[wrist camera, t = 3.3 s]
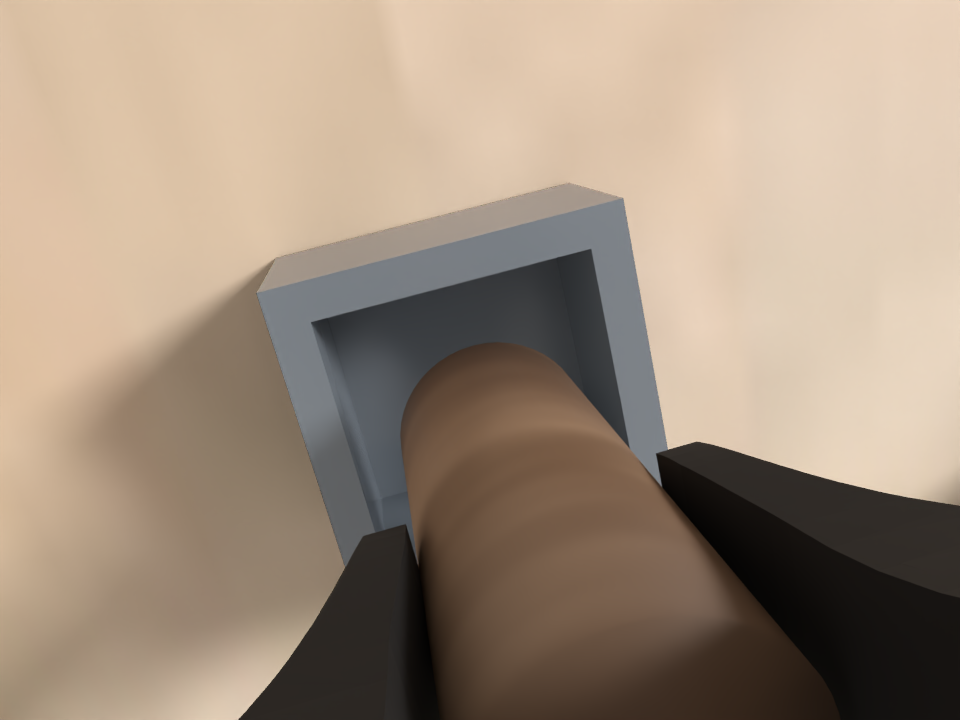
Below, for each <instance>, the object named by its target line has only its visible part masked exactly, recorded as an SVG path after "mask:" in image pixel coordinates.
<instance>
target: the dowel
mask: <svg viewBox="0 0 960 720" xmlns="http://www.w3.org/2000/svg"><path fill="white" fill-rule="evenodd" d="M400 439H401V450H402V457H403V464H404V471H405V478H406V485H407V492H408V499H409V506H410V513H411V520H412V527H413V534H414V541H415V548H416V555H417V562H418V567H419V573H420V580H421V587H422V594H423V601H424V608H425V617H426V625H427V632H428V639H429V646H430V653H431V660H432V667H433V674H434V681H435V688H436V695H437V702H438V709H439V716H440V720H841V719H840V714H839V711H838V709H837V706H836V703H835V701H834V698H833V696H832V693H831V692H830V690H829V688H828V687H827V685H826V683H825V682H824V680H823V678H822V677H821V675H820V674H819V673H818V672H817V671H816V669H815V668H814V667H813V666H812V665H811V663H810V662H809V661H808V660H807V659H806V657H805V656H804V655H803V654H802V653H801V652H800V650H799V649H798V648H797V647H796V646H795V644H794V643H793V642H792V641H791V640H790V638H789V637H788V636H787V635H786V634H785V633H784V631H783V630H782V629H781V628H780V627H779V625H778V624H777V623H776V622H775V621H774V619H773V618H772V617H771V616H770V615H769V614H768V612H767V611H766V610H765V609H764V608H763V606H762V605H761V604H760V603H759V602H758V600H757V599H756V598H755V597H754V596H753V595H752V593H751V592H750V591H749V590H748V589H747V587H746V586H745V585H744V584H743V583H742V581H741V580H740V579H739V578H738V577H737V576H736V574H735V573H734V572H733V571H732V570H731V568H730V567H729V566H728V565H727V564H726V562H725V561H724V560H723V559H722V558H721V557H720V555H719V554H718V553H717V552H716V551H715V549H714V548H713V547H712V546H711V545H710V543H709V542H708V541H707V540H706V539H705V538H704V536H703V535H702V534H701V533H700V532H699V530H698V529H697V528H696V527H695V526H694V524H693V523H692V522H691V521H690V520H689V519H688V517H687V516H686V515H685V514H684V513H683V511H682V510H681V509H680V508H679V507H678V505H677V504H676V503H675V502H674V501H673V500H672V498H671V497H670V496H669V495H668V494H667V492H666V491H665V490H664V489H663V488H662V486H661V485H660V484H659V483H658V482H657V481H656V479H655V478H654V477H653V476H652V475H651V473H650V472H649V471H648V470H647V469H646V467H645V466H644V465H643V464H642V463H641V461H640V460H639V459H638V458H637V457H636V456H635V454H634V453H633V452H632V451H631V450H630V448H629V447H628V446H627V445H626V444H625V442H624V441H623V440H622V439H621V438H620V437H619V435H618V434H617V433H616V432H615V431H614V429H613V428H612V427H611V426H610V425H609V423H608V422H607V421H606V420H605V419H604V418H603V416H602V415H601V414H600V413H599V412H598V410H597V409H596V408H595V407H594V406H593V404H592V403H591V402H590V401H589V400H588V399H587V397H586V396H585V395H584V394H583V393H582V391H581V390H580V389H579V388H578V387H577V385H576V384H575V383H574V382H573V381H572V380H571V378H570V377H569V376H568V375H567V374H566V372H565V371H564V370H563V369H562V368H561V367H560V366H559V365H558V364H557V363H556V362H554V361H553V360H552V359H550V358H549V357H547V356H546V355H544V354H542V353H540V352H538V351H536V350H534V349H532V348H529V347H526V346H523V345H518V344H513V343H501V342H494V343H483V344H478V345H473V346H470V347H467V348H464V349H461V350H459V351H457V352H455V353H453V354H451V355H449V356H447V357H446V358H444V359H443V360H441V361H439V362H438V363H437V364H436V365H434V366H433V367H432V368H431V369H430V370H429V371H428V372H427V373H426V374H425V375H424V376H423V377H422V378H421V379H420V381H419V382H418V384H417V385H416V387H415V388H414V389H413V391H412V393H411V395H410V397H409V399H408V401H407V404H406V406H405V409H404V412H403V417H402V422H401V432H400Z"/></svg>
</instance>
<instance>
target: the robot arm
mask: <svg viewBox="0 0 960 720" xmlns="http://www.w3.org/2000/svg"><path fill="white" fill-rule="evenodd" d="M656 457H657V462H658V468H659V473H660V479H661V484H662V488H663V489H664V490H665V491H666V492H667V494H668V495H669V496H670V497H671V498H672V500H673V501H674V502H675V503H676V504H677V505H678V507H679V508H680V509H681V510H682V511H683V513H684V514H685V515H686V516H687V517H688V519H689V520H690V521H691V522H692V523H693V524H694V526H695V527H696V528H697V529H698V530H699V532H700V533H701V534H702V535H703V536H704V538H705V539H706V540H707V541H708V542H709V543H710V545H711V546H712V547H713V548H714V549H715V551H716V552H717V553H718V554H719V555H720V557H721V558H722V559H723V560H724V561H725V562H726V564H727V565H728V566H729V567H730V568H731V570H732V571H733V572H734V573H735V574H736V576H737V577H738V578H739V579H740V580H741V581H742V583H743V584H744V585H745V586H746V587H747V589H748V590H749V591H750V592H751V593H752V595H753V596H754V597H755V598H756V599H757V600H758V602H759V603H760V604H761V605H762V606H763V608H764V609H765V610H766V611H767V612H768V614H769V615H770V616H771V617H772V618H773V619H774V621H775V622H776V623H777V624H778V625H779V627H780V628H781V629H782V630H783V631H784V633H785V634H786V635H787V636H788V637H789V638H790V640H791V641H792V642H793V643H794V644H795V646H796V647H797V648H798V649H799V650H800V652H801V653H802V654H803V655H804V656H805V657H806V659H807V660H808V661H809V662H810V663H811V665H812V666H813V667H814V668H815V669H816V671H817V672H818V673H819V674H820V675H821V677H822V678H823V680H824V682H825V683H826V685H827V687H828V688H829V690H830V692H831V693H832V696H833V698H834V701H835V703H836V706H837V709H838V711H839V714H840V719H841V720H960V506H957V505H951V504H945V503H938V502H932V501H926V500H920V499H913V498H907V497H902V496H897V495H892V494H887V493H882V492H878V491H874V490H870V489H865V488H861V487H857V486H853V485H849V484H844V483H840V482H836V481H833V480H829V479H825V478H822V477H818V476H814V475H811V474H807V473H804V472H800V471H797V470H794V469H790V468H787V467H784V466H780V465H777V464H774V463H771V462H767V461H764V460H761V459H758V458H755V457H751V456H748V455H745V454H742V453H739V452H735V451H732V450H729V449H725V448H722V447H718V446H715V445H711V444H707V443H701V442H694V443H691V444H687V445H683V446H680V447H676V448H673V449H669V450H666V451H662V452H659V453H656ZM239 720H440V716H439V709H438V702H437V695H436V688H435V681H434V674H433V667H432V660H431V653H430V646H429V639H428V632H427V625H426V617H425V608H424V601H423V594H422V587H421V580H420V573H419V567H418V564H417V560H416V557H415V553H414V550H413V547H412V543H411V540H410V536H409V533H408V530H407V526H406V524H404V525H400V526H396V527H393V528H389V529H386V530H382V531H379V532H375V533H372V534H368V535H365V536H363V537H362V539H361V540H360V542H359V544H358V545H357V547H356V549H355V550H354V552H353V554H352V556H351V558H350V560H349V562H348V564H347V565H346V567H345V569H344V571H343V573H342V575H341V577H340V578H339V580H338V582H337V584H336V586H335V588H334V589H333V591H332V593H331V594H330V596H329V598H328V600H327V601H326V603H325V605H324V606H323V608H322V610H321V611H320V613H319V615H318V616H317V618H316V620H315V621H314V623H313V625H312V626H311V628H310V629H309V630H308V632H307V633H306V635H305V636H304V638H303V639H302V641H301V642H300V644H299V645H298V647H297V648H296V650H295V651H294V653H293V654H292V655H291V657H290V658H289V660H288V661H287V662H286V664H285V665H284V666H283V668H282V669H281V670H280V672H279V673H278V674H277V675H276V677H275V678H274V679H273V680H272V682H271V683H270V684H269V685H268V686H267V688H266V689H265V690H264V691H263V692H262V693H261V695H260V696H259V697H258V698H257V699H256V700H255V702H254V703H253V704H252V705H251V706H250V707H249V708H248V710H247V711H246V712H245V713H244V714H243V715H242V716H241V717H240V718H239Z"/></svg>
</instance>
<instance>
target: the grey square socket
mask: <svg viewBox="0 0 960 720" xmlns="http://www.w3.org/2000/svg"><path fill="white" fill-rule="evenodd" d="M256 294H257V297H258V300H259V303H260V306H261V309H262V312H263V315H264V318H265V321H266V324H267V327H268V331H269V334H270V337H271V340H272V343H273V346H274V349H275V352H276V355H277V358H278V361H279V364H280V368H281V371H282V374H283V377H284V380H285V383H286V386H287V389H288V392H289V395H290V398H291V401H292V405H293V408H294V411H295V414H296V417H297V420H298V423H299V426H300V429H301V432H302V435H303V438H304V441H305V445H306V448H307V451H308V454H309V457H310V460H311V463H312V466H313V469H314V472H315V475H316V478H317V482H318V485H319V488H320V491H321V494H322V497H323V500H324V503H325V506H326V509H327V512H328V515H329V519H330V522H331V525H332V528H333V531H334V534H335V537H336V540H337V543H338V546H339V549H340V552H341V555H342V559H343V562H344V565H345V567H346V565H347V564H348V562H349V560H350V558H351V556H352V554H353V552H354V550H355V549H356V547H357V545H358V544H359V542H360V540H361V539H362V537H363V536H365V535H368V534H372V533H375V532H379V531H382V530H386V529H389V528H393V527H396V526H400V525H404V524H406V526H407V530H408V533H409V536H410V540H411V543H412V547H413V550H414V553H415V557H416V560H417V555H416V548H415V541H414V534H413V527H412V520H411V513H410V506H409V499H408V492H407V485H406V478H405V471H404V464H403V457H402V450H401V439H400V432H401V422H402V417H403V412H404V409H405V406H406V404H407V401H408V399H409V397H410V395H411V393H412V391H413V389H414V388H415V387H416V385H417V384H418V382H419V381H420V379H421V378H422V377H423V376H424V375H425V374H426V373H427V372H428V371H429V370H430V369H431V368H432V367H433V366H434V365H436V364H437V363H438V362H439V361H441V360H443V359H444V358H446V357H447V356H449V355H451V354H453V353H455V352H457V351H459V350H461V349H464V348H467V347H470V346H473V345H478V344H483V343H494V342H501V343H513V344H518V345H523V346H526V347H529V348H532V349H534V350H536V351H538V352H540V353H542V354H544V355H546V356H547V357H549V358H550V359H552V360H553V361H554V362H556V363H557V364H558V365H559V366H560V367H561V368H562V369H563V370H564V371H565V372H566V374H567V375H568V376H569V377H570V378H571V380H572V381H573V382H574V383H575V384H576V385H577V387H578V388H579V389H580V390H581V391H582V393H583V394H584V395H585V396H586V397H587V399H588V400H589V401H590V402H591V403H592V404H593V406H594V407H595V408H596V409H597V410H598V412H599V413H600V414H601V415H602V416H603V418H604V419H605V420H606V421H607V422H608V423H609V425H610V426H611V427H612V428H613V429H614V431H615V432H616V433H617V434H618V435H619V437H620V438H621V439H622V440H623V441H624V442H625V444H626V445H627V446H628V447H629V448H630V450H631V451H632V452H633V453H634V454H635V456H636V457H637V458H638V459H639V460H640V461H641V463H642V464H643V465H644V466H645V467H646V469H647V470H648V471H649V472H650V473H651V475H652V476H653V477H654V478H655V479H656V481H657V482H658V483H659V484H660V485H661V486H662V484H661V479H660V473H659V468H658V462H657V457H656V453H659V452H662V451H666V450H668V448H667V442H666V436H665V431H664V425H663V420H662V414H661V408H660V403H659V397H658V392H657V386H656V380H655V375H654V369H653V363H652V358H651V352H650V347H649V341H648V335H647V330H646V324H645V318H644V313H643V307H642V302H641V296H640V290H639V285H638V279H637V274H636V268H635V262H634V257H633V251H632V245H631V240H630V234H629V229H628V223H627V217H626V212H625V206H624V200H623V198H621V197H617V196H614V195H610V194H607V193H603V192H600V191H596V190H592V189H589V188H585V187H582V186H578V185H575V184H571V183H567V184H563V185H559V186H555V187H551V188H547V189H543V190H539V191H535V192H532V193H528V194H524V195H520V196H516V197H512V198H508V199H504V200H500V201H496V202H492V203H489V204H485V205H481V206H477V207H473V208H469V209H465V210H461V211H457V212H453V213H449V214H446V215H442V216H438V217H434V218H430V219H426V220H422V221H418V222H414V223H410V224H406V225H403V226H399V227H395V228H391V229H387V230H383V231H379V232H375V233H371V234H367V235H363V236H360V237H356V238H352V239H348V240H344V241H340V242H336V243H332V244H328V245H324V246H321V247H317V248H313V249H309V250H305V251H301V252H297V253H293V254H289V255H285V256H281V257H278V258H276V259H275V261H274V263H273V264H272V266H271V268H270V270H269V271H268V273H267V275H266V277H265V278H264V280H263V282H262V284H261V286H260V287H259V289H258V291H257V293H256ZM417 564H418V562H417Z"/></svg>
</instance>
